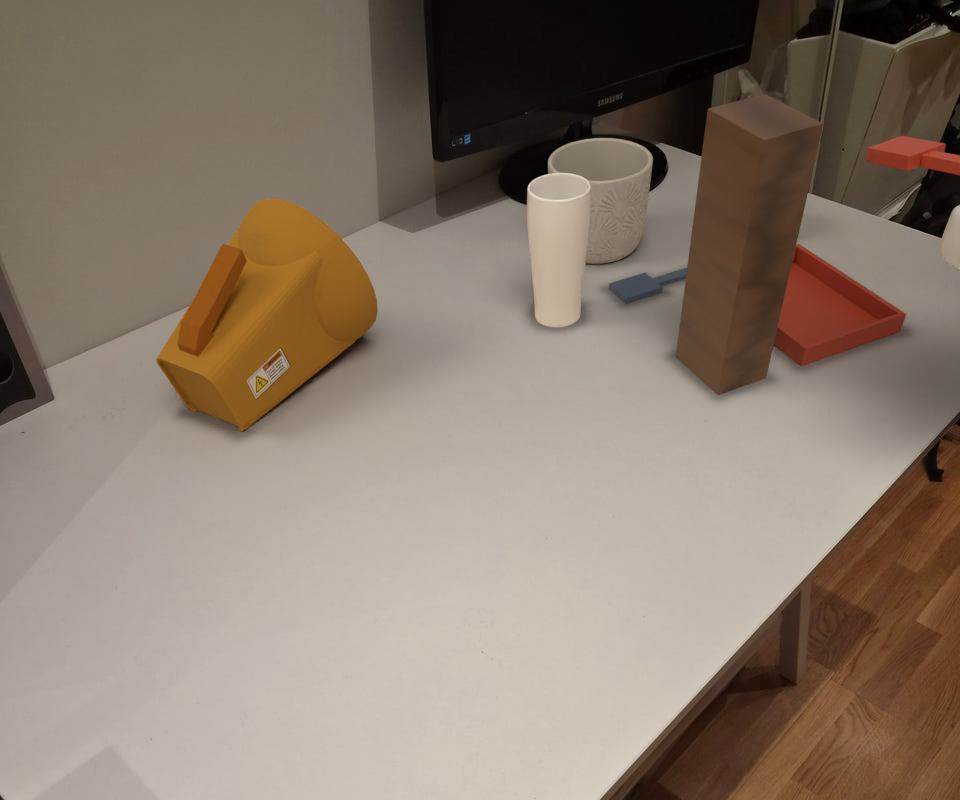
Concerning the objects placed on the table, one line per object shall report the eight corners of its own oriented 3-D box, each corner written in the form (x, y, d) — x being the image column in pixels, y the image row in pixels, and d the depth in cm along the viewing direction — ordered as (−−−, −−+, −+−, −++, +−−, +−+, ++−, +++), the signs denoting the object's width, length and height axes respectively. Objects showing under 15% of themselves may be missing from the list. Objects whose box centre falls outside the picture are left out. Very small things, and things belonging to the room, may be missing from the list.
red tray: (794, 264, 106) (798, 243, 104) (899, 335, 95) (906, 313, 93) (702, 293, 103) (705, 272, 101) (800, 370, 92) (805, 348, 90)
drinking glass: (596, 325, 100) (603, 191, 88) (543, 340, 99) (542, 206, 87) (571, 298, 104) (574, 166, 92) (519, 312, 103) (516, 180, 91)
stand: (720, 345, 96) (764, 93, 77) (765, 382, 91) (823, 123, 72) (674, 361, 95) (707, 108, 75) (717, 399, 90) (763, 140, 71)
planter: (638, 276, 106) (646, 184, 98) (539, 270, 109) (538, 179, 100) (650, 228, 114) (658, 138, 105) (557, 223, 116) (557, 135, 108)
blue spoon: (608, 292, 104) (609, 283, 103) (727, 255, 108) (728, 246, 107) (625, 308, 102) (626, 298, 101) (746, 269, 106) (748, 260, 105)
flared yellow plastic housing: (285, 310, 106) (221, 178, 90) (396, 347, 99) (346, 211, 84) (183, 428, 100) (95, 308, 84) (293, 476, 93) (220, 355, 78)
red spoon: (900, 149, 80) (902, 135, 79) (1065, 182, 68) (1069, 166, 67) (865, 162, 79) (867, 147, 79) (1026, 197, 67) (1030, 180, 66)
